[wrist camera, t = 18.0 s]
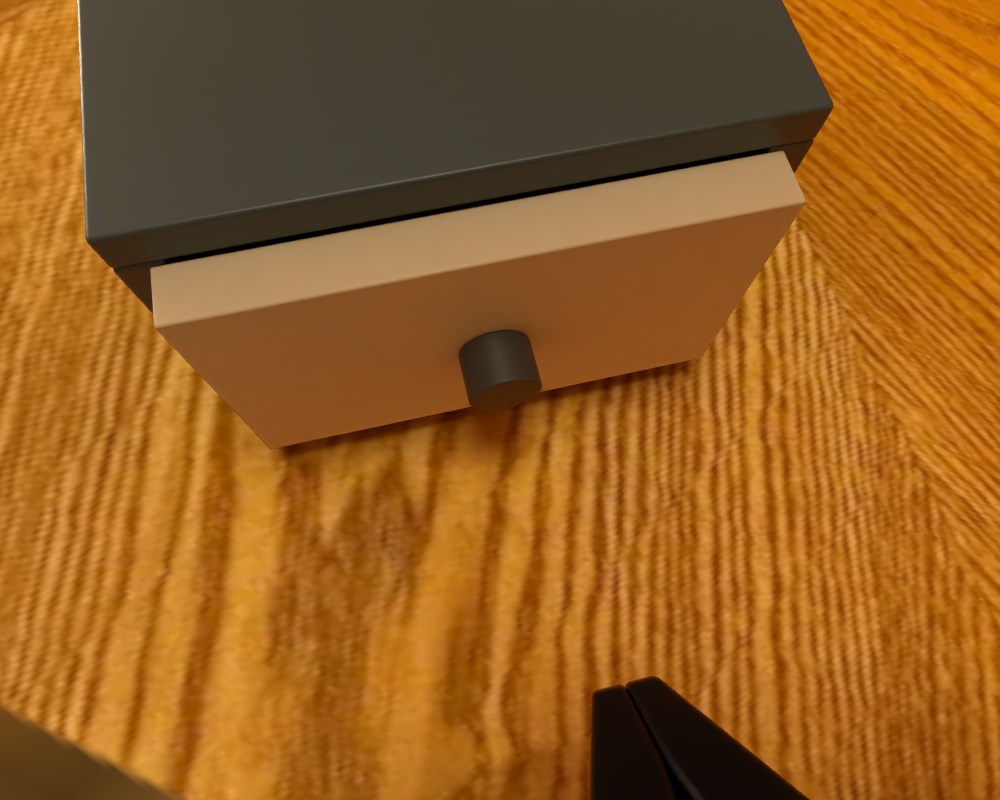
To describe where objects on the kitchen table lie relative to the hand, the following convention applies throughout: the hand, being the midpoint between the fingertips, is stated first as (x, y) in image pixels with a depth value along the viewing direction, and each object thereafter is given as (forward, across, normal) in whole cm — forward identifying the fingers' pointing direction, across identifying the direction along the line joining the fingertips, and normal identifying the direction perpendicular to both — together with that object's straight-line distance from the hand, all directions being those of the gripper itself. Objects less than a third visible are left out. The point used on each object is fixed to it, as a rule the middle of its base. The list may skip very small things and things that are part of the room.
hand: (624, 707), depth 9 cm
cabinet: (+17, 0, -5) cm, 18 cm away
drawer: (+15, 0, -4) cm, 15 cm away
